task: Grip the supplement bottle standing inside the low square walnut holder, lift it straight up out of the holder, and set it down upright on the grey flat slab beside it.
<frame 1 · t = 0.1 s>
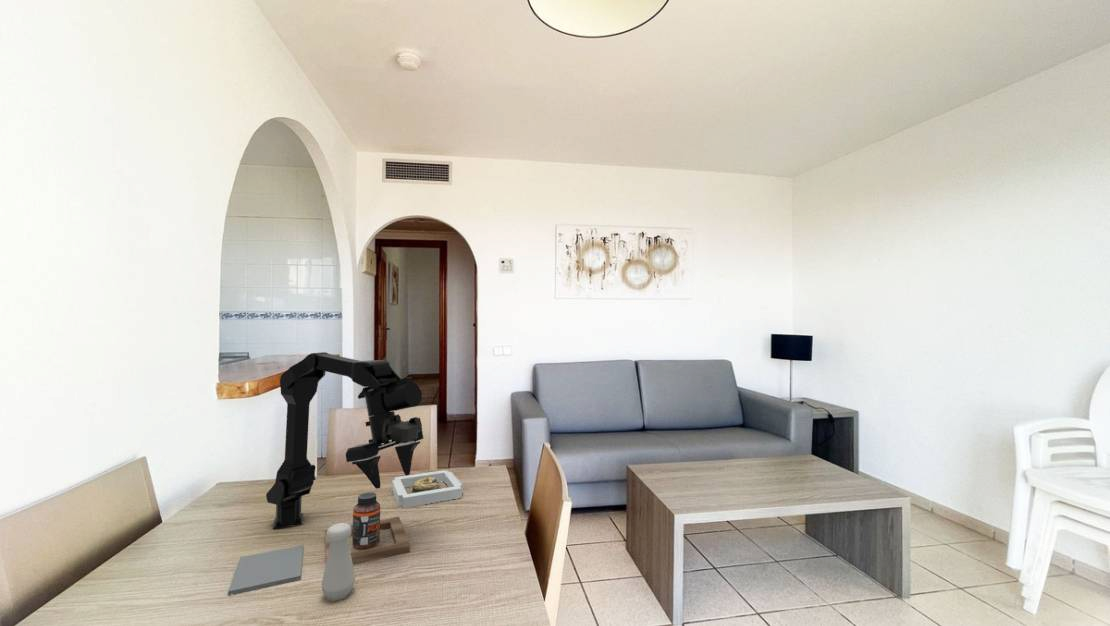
hand: (393, 481, 104), 15 cm above the table, tool pointing down, fingers open, 9 cm apart
grey bread rim: (426, 492, 138), on the table
grey flat slab: (269, 569, 95), on the table
supplement bottle: (366, 544, 106), on the table
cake: (427, 494, 138), on the table
walnut holder: (366, 543, 106), on the table
salt shaker: (338, 595, 86), on the table
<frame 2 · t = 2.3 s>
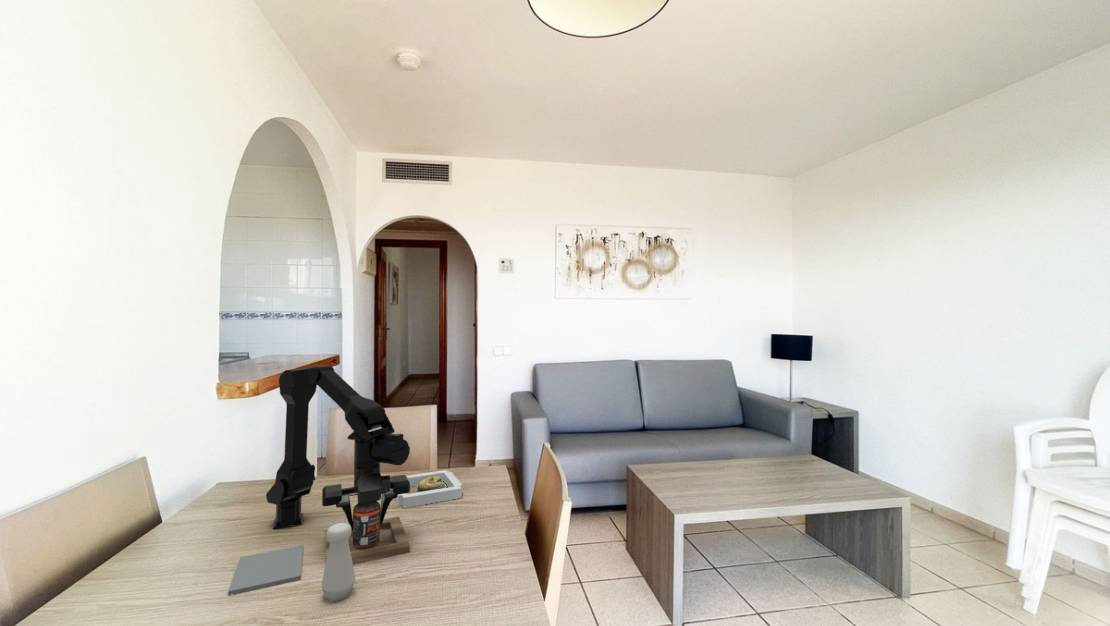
hand: (366, 526, 106), 4 cm above the table, tool pointing down, fingers closed on supplement bottle, 6 cm apart
supplement bottle: (366, 544, 106), on the table, touching gripper
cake: (432, 493, 138), on the table
everything else where it was.
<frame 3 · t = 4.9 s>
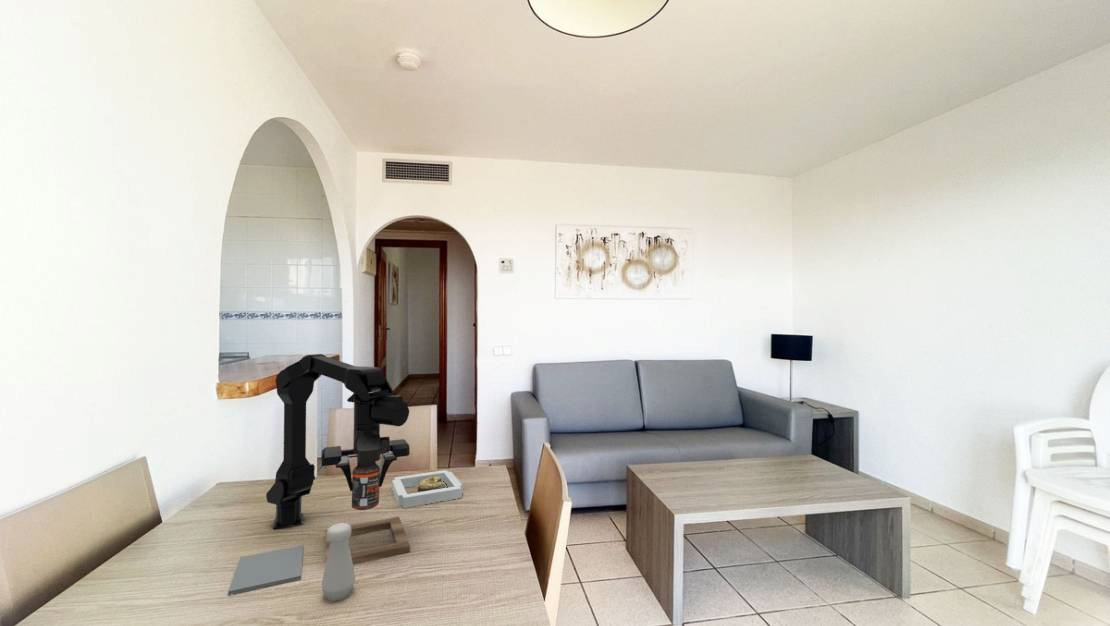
hand: (365, 488, 106), 13 cm above the table, tool pointing down, fingers closed on supplement bottle, 6 cm apart
supplement bottle: (365, 506, 106), point 9 cm above the table, touching gripper
everything else where it was.
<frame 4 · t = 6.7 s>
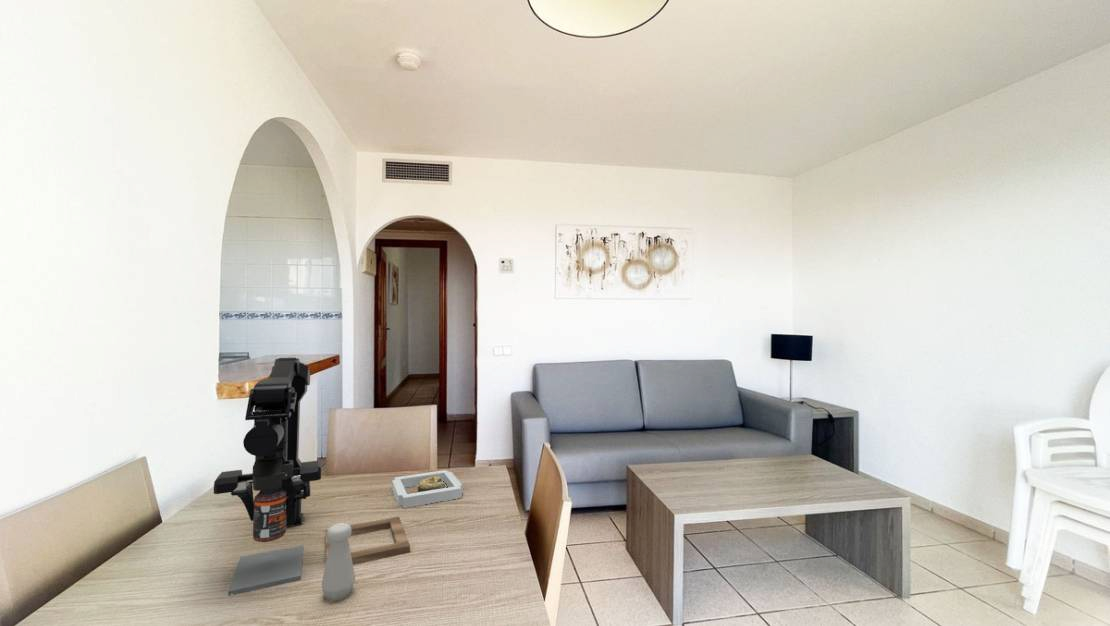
hand: (270, 517, 95), 11 cm above the table, tool pointing down, fingers closed on supplement bottle, 6 cm apart
supplement bottle: (269, 537, 95), point 7 cm above the table, touching gripper
everything else where it was.
when the fingers open (6 cm above the table, at t = 8.2 s): supplement bottle drops 2 cm, resting on grey flat slab.
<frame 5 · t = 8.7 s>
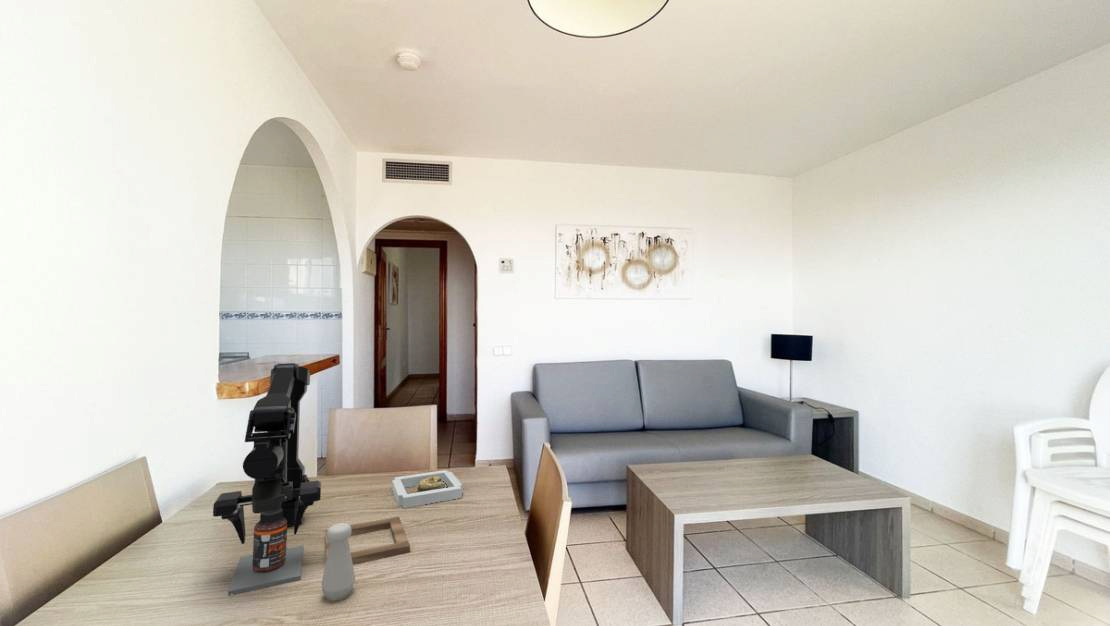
hand: (269, 538, 95), 6 cm above the table, tool pointing down, fingers open, 9 cm apart
supplement bottle: (269, 566, 95), point 1 cm above the table, touching grey flat slab
everything else where it was.
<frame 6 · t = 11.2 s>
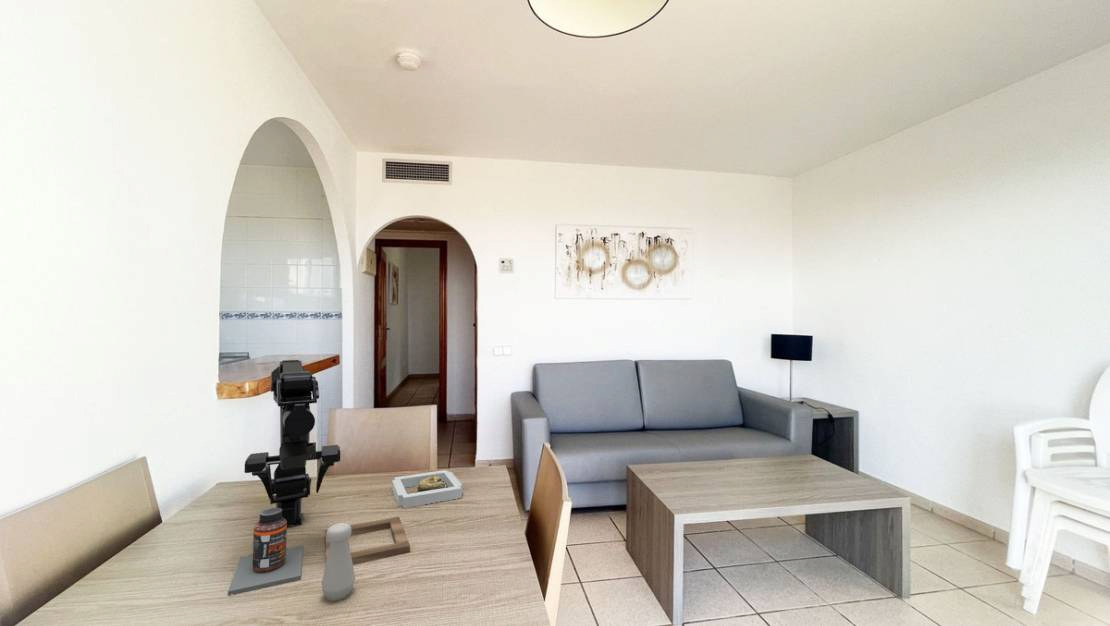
hand: (294, 495, 104), 12 cm above the table, tool pointing down, fingers open, 9 cm apart
nothing on the table moved.
at the end: supplement bottle inside the target area on the grey flat slab (0.0 cm from its centre), point 0.6 cm above the grey flat slab's base; supplement bottle tilted 0°; the gripper is holding nothing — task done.
